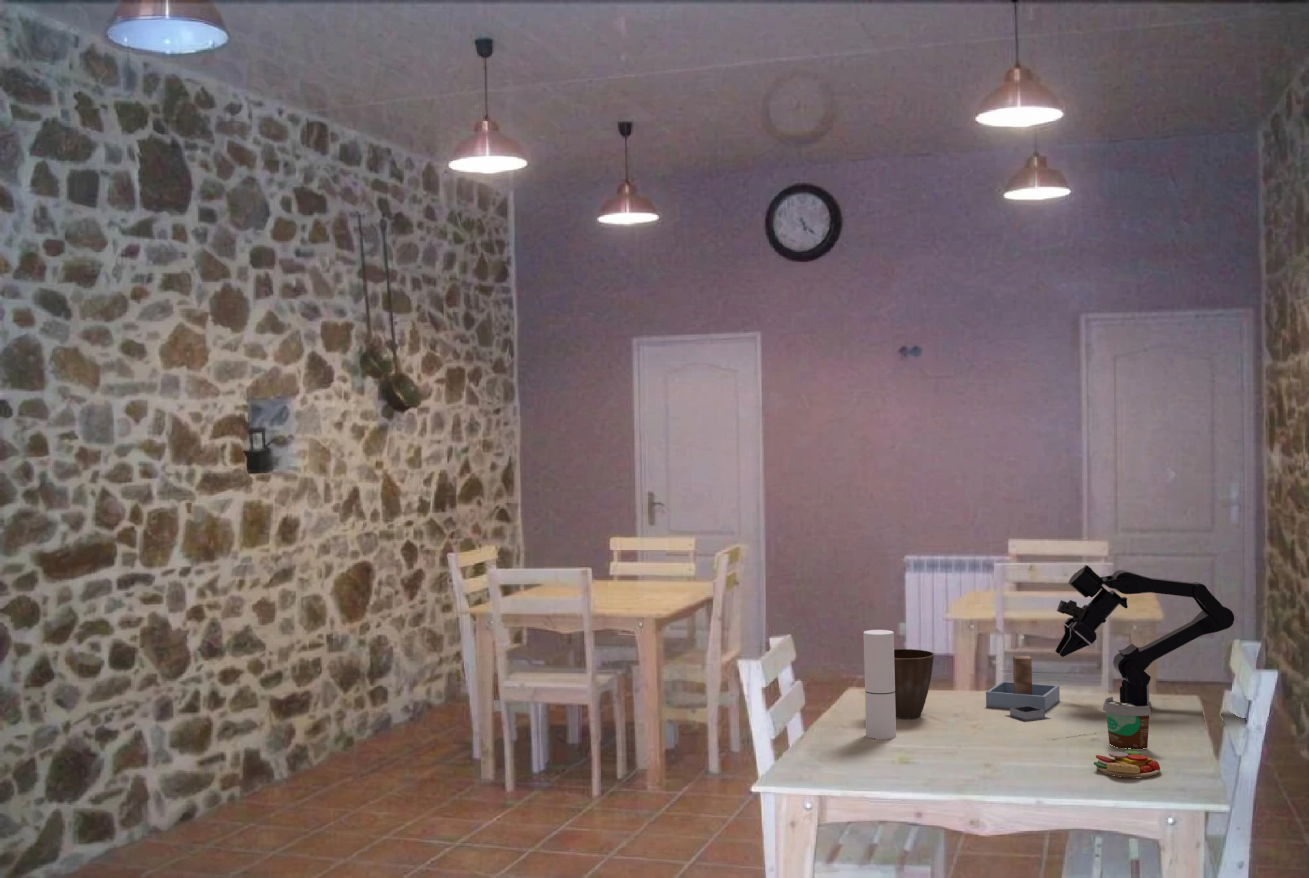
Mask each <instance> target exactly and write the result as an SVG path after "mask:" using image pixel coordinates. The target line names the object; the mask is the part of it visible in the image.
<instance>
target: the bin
mask: <svg viewBox="0 0 1309 878" xmlns="http://www.w3.org/2000/svg"><path fill="white" fill-rule="evenodd" d="M1060 696H1061V695H1060V685H1053V684H1052V685H1051V684H1044V683H1043V684H1040V683H1032V695H1025V694H1014V681H1001V682H999V683H997V684H996V685H995V686H992V687H991V688H990V689H988V690H987V691H985V702H986V703H985V705H986V706H985V707H986V708H992V709H993V708H994V709H1003V710H1004V709H1005V710H1010V708H1015V707H1023V706H1033V707H1036V708H1039V709H1043V710H1045V713H1046V712H1047V711H1049V710H1050V709H1051V708H1053V707H1054V706H1055V705H1057V703H1059V702H1060V700H1061V698H1060Z"/></svg>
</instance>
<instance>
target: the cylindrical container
mask: <svg viewBox="0 0 1309 878" xmlns="http://www.w3.org/2000/svg"><path fill="white" fill-rule="evenodd" d="M894 633H895V632H894V631H893V630H887V629H870V630H864V631H863V665H864V666H863V667H864V668H863V669H864V670H863V671H864V699H865V700H864V701H865V703H864V704H865V707H864V708H865V711H864V712H865V736H866V738H868V737H869V739H872V738H873V739H874V738H875V739H874V740H891V739H895V738H897V718H896V710H895V669H894V649H895V641H894V640H895V639H894V638H895V637H894V635H895V634H894Z"/></svg>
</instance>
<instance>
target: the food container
mask: <svg viewBox="0 0 1309 878" xmlns="http://www.w3.org/2000/svg"><path fill="white" fill-rule="evenodd" d="M1102 710H1103V712H1105V715H1106V724H1107V734H1108V735H1107V736H1108V744H1109V745H1110V744H1111V745H1113V746H1115V747H1114V748H1116V747H1118V748H1117V749H1120V748H1127V749H1126V750H1128V748H1131V749H1143V748H1147V749H1148V745H1149V744H1148V743H1149V730H1150V729H1149V728H1150V727H1149V725H1150V716H1152V710H1151V708H1150V705H1149V706H1135V705H1133V704H1130V703H1120V701H1119V702H1118V701H1115V700H1114V697H1113V696H1109V697H1107V698H1105V699H1104V702H1103V705H1102ZM1111 745H1110V746H1111ZM1113 746H1112V747H1113ZM1143 750H1144V749H1143Z"/></svg>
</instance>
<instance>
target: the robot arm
mask: <svg viewBox="0 0 1309 878" xmlns="http://www.w3.org/2000/svg"><path fill="white" fill-rule="evenodd" d="M1067 583H1068V584H1069V586H1071V587H1072V588H1073V589H1075V591H1076V592H1078V593H1079V594H1080V595H1081V596H1082V597H1084V598H1085V599H1086V598H1088V597H1090V599H1091V598H1092V600H1090V602H1089V603H1088V604H1084V605H1083V606H1082V607H1081V606H1078V605H1077V604H1078V603H1077V601H1074V600H1072V599H1070V600H1068V601H1065V600H1062V599H1061V600H1060V601H1059V603H1058V606H1057V608H1056V612H1057V613H1060V614H1063V615H1064V614H1065V615H1068V616H1070V617H1068V618H1067V619H1066V620H1065V621H1064V624H1063V630H1064V633H1063V636H1062V638H1061V639H1060V641H1059V643H1058V645H1057V646H1056V649H1055V652H1056V653H1057V654H1058V655H1059V656H1060V657H1062V658H1064V657H1067V656H1068V655H1071V654H1073V653H1074V652H1077V651H1079V650H1081V649H1084V648H1086V647H1087V646H1088V647H1089V646H1090V644H1091V645H1092V644H1094V643H1095V641H1096V640H1097V632H1096V630H1097V629H1098V628H1099V627H1100V626H1101V625H1102V624H1105V623H1106V622H1107V618H1108V617H1109V616H1110V615H1111V614H1112V613H1113V612H1114V611H1115V610H1116V609H1117V607H1118V606H1119V605H1120V606H1121V607H1122V608H1123V609H1128V607H1129V606H1128V598H1127V597H1126V596H1120V595H1119V593H1121V594H1123V595H1135V594H1137V595H1139V594H1145V593H1146V594H1147V593H1152V594H1159V595H1162V594H1163V595H1168V596H1169V595H1170V596H1175V597H1176V596H1177V597H1178V596H1179V597H1186V598H1192V599H1193V600H1194V601H1195V602H1196V604H1197V605H1198V607H1199V608H1200V610H1201V611H1200V612H1198V614H1197V615H1196V616H1195V617H1194V618H1193V619H1192V620H1191V621H1189V622H1187V623H1186V624H1184V625H1181V626H1180V627H1178V628H1176V629H1173V630H1172V631H1171V632H1169V633H1166V634H1165V635H1162V636H1161V637H1159V638H1157V639H1155V640H1154V641H1151V642H1149V643H1147V644H1145V645H1143V646H1139V647H1138V646H1136V645H1135V644H1133V643H1131V644H1129V645H1128V646H1126V647H1125V648H1123V649H1119V650H1118V653H1117V654H1115V656H1113V661H1112V665H1113V668H1114V669H1115V671H1116V672H1117V673H1118V674H1120V676H1121V678H1122V679H1123V680H1122V681H1121V685H1120V687H1119V702H1120V703H1130V704H1133V705H1135V706H1150V705H1151V703H1152V702H1151V701H1150V681H1151V677H1152V676H1150V675H1149V674H1148V673H1147V672H1146V671H1147V669H1148V668H1149V666H1150V665H1151V664H1152V663H1153V662H1154V661H1156V660H1158V659H1160V658H1162V657H1163V656H1166V655H1167V654H1170V653H1171V652H1173V651H1175V650H1177V649H1179V648H1180V647H1182V646H1184V645H1187V644H1188V643H1190V642H1192V641H1194V640H1196V639H1198V638H1199V637H1202V636H1203V635H1204V636H1205V635H1209V634H1214V633H1218V632H1222V631H1224V630H1227V629H1229V628H1231V627H1233V625H1234V622H1235V615H1234V613H1233V611H1232V610H1231V609H1230V608H1229V607H1226V606H1224V605H1223V604H1222V603H1221V602H1220V600H1218V599H1217V598H1216V597H1215V596H1214V595H1213V594H1212V593H1211V592H1210V590H1209V589H1208V588H1207V586H1206V585H1205V584H1202V583H1201V582H1197V581H1194V582H1190V581H1182V580H1175V579H1167V578H1166V579H1164V578H1158V577H1157V578H1155V577H1149V576H1145V575H1142V574H1138V573H1135V572H1133V571H1129V570H1125V569H1118V570H1116V571H1114V572H1113V573H1112V574H1109V575H1106V576H1099V575H1098V574H1097V573H1096V572H1095V571H1094V570H1093V569H1092V567H1090V566H1089V565H1087V564H1086V565H1084V566H1083V567H1082V568H1080V569H1078V571H1077V572H1074V573H1073V575H1072V576H1071V577H1070V578H1069V580H1068V582H1067ZM1103 585H1104V586H1105V587H1107V588H1108V589H1114V590H1110V591H1108V590H1107V589H1106V588H1105V587H1104V586H1103ZM1115 591H1117V592H1119V593H1117V592H1115Z"/></svg>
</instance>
